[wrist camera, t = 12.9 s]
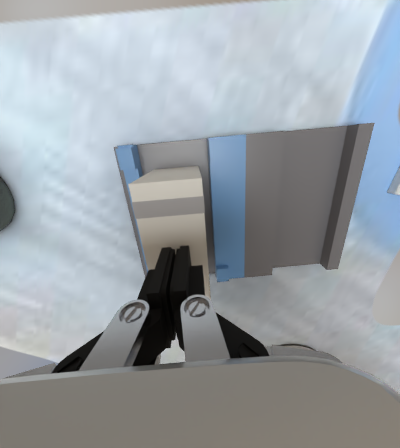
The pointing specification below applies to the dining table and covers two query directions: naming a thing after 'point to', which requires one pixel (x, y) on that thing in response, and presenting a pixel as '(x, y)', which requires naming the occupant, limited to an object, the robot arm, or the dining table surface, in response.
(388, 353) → the dining table surface
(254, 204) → the board
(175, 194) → the block
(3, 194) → the bottle
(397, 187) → the external hard drive
